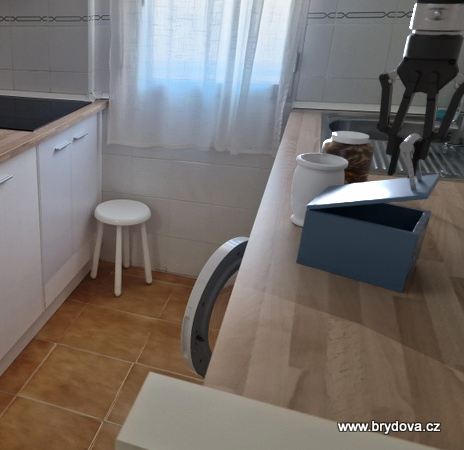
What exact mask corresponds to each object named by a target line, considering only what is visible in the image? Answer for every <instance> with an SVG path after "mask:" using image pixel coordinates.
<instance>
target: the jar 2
mask: <svg viewBox="0 0 464 450" xmlns="http://www.w3.org/2000/svg"><path fill="white" fill-rule="evenodd" d="M369 140H370V135H369V134H367V133H364V132H358V131H352V130H337V131H333V132H332V133H331V137H330V138H327V139H325V140H324V141H323V144H322V146H321V151H320V153H323V154H330V155H335V156H339V157H342V158H344V159H346V160H347V161H348V166H347V168H345V169H344V185H345V184H354V183H363V182H368V180H369V176H370V172H371V166H372V163H373V158H374V153H375V152H374V151H375V145H374V144H373V143H372V142H369Z"/></svg>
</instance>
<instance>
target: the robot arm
mask: <svg viewBox="0 0 464 450" xmlns="http://www.w3.org/2000/svg"><path fill="white" fill-rule="evenodd" d="M409 25H410V26H409V29H410V30H411V31H412V33H409V35H408V36H407V38H406V43H405V47H404V51H403V55H402V59H401V61H400V63H399V64H398V65H397V67H396V69H394V70H391V71H388V72H387V71H385V72H383V73H381V74H379V75H378V80H379V83H380V87H381V94H380V106H379V118H378V132H380V133H384V134H386V135H387V136H388V140H387V143H386V148H385V154H386V155H388V156H391V158H390V162H389V165H388V169H387V170H388V171H387V176H394V174H395V173H396V171H397V167H398V162H399V159H400V155H401V152H402V151H401V150H400V144H401V143H402V142H403V141H404V138H405V136H404V135H400V133H401V132H402V128H403V125H404V123H405V120H406V118H407V115H408V112H409V110H410V107H411V105H412V102H413V101H414V97H415V95H416V94H417V93H422V94H425V95H426V102H425V103H426V105H425V114H424V122H423V130H422V137H421V138H419V139H418V140H417V142H416V146H415V150H414V154H413V153H412V164H413V170H414V177H416V170H417V166H418V163H419V160H421V161H425V160H426V159H427V158H428V156H429V155H430V151H431V146H432V142H433V141H437V140H438V141H439V140H441V141H442V140H444V139H445V138H446V137H447V135H448V133H449V131H450V128H451V127H452V123H453V121H454V119H455V116H456V115H457V112H458V110H459V107H460V105H461V102H462V100H463V98H464V75H463V74H462V73H460V68H459V66H458V61H459V58H460V55H461V52H462V51H461V50H462V47H463V42H464V36H463V34H461V33H462V32H464V0H415V4H414V8H413V13H412V17H411V20H410V24H409ZM397 77H399V79H400V82H401V83H402V86H403V87H404V92H403V94H402V98H401V101H400V104H399V106H398V110H397V112H396V115H395V116H394V120H393V121H392V122H393V123H392V125H391V124H390V123H391V114H392V102H393V94H394V93H393V91H394V84H395V83H396V82H397ZM453 80H454V84H453V88H454V90H455V91H454V93H453V95H452V96H451V99H450V102H449V104H448V107H447V109H446V111H445V114H444V115H443V118H442V121H441V123H440V126H439V127H438V130H437V131H435V127H436V118H437V117H436V116H437V109H438V103H439V102H438V101H439V95H440V91H441V90H442V89H444V87H446V86H447V85H448V84H449V83H450V82H451V81H453ZM407 177H408V178H409V175H408V174H407Z"/></svg>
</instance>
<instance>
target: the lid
mask: <svg viewBox="0 0 464 450" xmlns="http://www.w3.org/2000/svg"><path fill="white" fill-rule="evenodd" d="M419 138H422V137H421V135H420V134H418V133H415V132H413V133H411V134H409V135H408V136H407V137H406V138H405V139H403V142H402V143H401V144H400V150H401V151H400V152H402V153H403V154H404V155H405V161H406V168H407V176H406V177H399V178H391V179H381V180H373V181H367V182H363V183H354V184H345V185H336V186H328V187H327V188H326V189H325V190H324V191H323V192H321V193H320V194H319V195H318V196H317V197H316V198H315V199H313V200H312V201H311V202H310V203H309V204H308V205H306V207H307V210H308V209H319V208H331V207H342V206H354V205H365V204H377V203H399V202H409V201H411V202H412V201H420V200H421V201H422V200H428V199H430V196H431V194H432V192H433V191H434V189H435V188H436V186H437V185H438V183H439V181H440V180H441V173H434V174H425V175H422V168H421V162H420V159H419V163H418V166H417V170H416V174H415V176H414V170H413V164H412V158H413V156H412V155H413V154H414V150H415V146H416V142H417V140H418V139H419ZM408 175H409V178H408Z"/></svg>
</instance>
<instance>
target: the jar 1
mask: <svg viewBox="0 0 464 450" xmlns="http://www.w3.org/2000/svg"><path fill="white" fill-rule="evenodd" d="M295 162H296V163H297V165H296V167H295V169H294V172H293V176H292V180H291V187H290V191H291V192H290V193H291V195H290V196H291V197H290V202H291V203H290V205H291V209H292V212H293V214H292V215H291V216H290V221H291V223H293V224H294V225H296V226H298V227H301V228H303V224H304V219H305V214H306V210H307V207H306V205H308V204H309V203H310V202H311V201H312V200H313V199H315V198H316V197H317V196H318V195H319V194H320V193H321V192H323V191H324V190H325V189H326V188H327V187H328V186H336V185H344V169H345V168H347V166H348V161H347V160H346V159H344V158H342V157H339V156H335V155H330V154H323V153H321V152H306V153H305V152H304V153H301V154H300V153H299V154H297V155H296V158H295Z"/></svg>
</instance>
